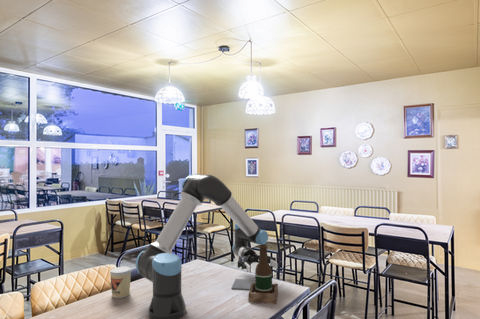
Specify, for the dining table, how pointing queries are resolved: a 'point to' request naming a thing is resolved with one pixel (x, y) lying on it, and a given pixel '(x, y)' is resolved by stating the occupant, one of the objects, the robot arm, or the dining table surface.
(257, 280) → the beer bottle
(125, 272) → the coffee cup
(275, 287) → the caddy
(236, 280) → the coaster
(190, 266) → the dining table surface
